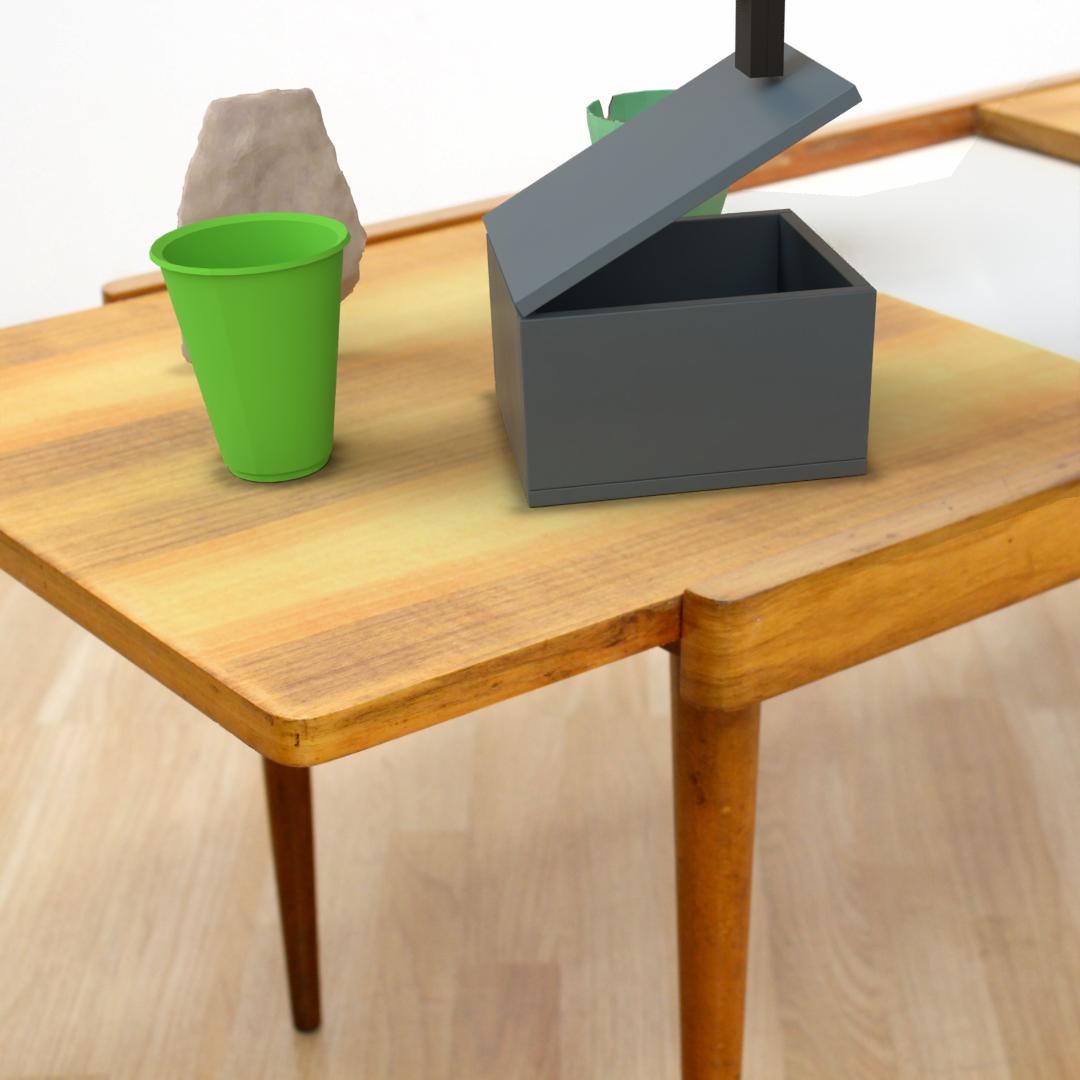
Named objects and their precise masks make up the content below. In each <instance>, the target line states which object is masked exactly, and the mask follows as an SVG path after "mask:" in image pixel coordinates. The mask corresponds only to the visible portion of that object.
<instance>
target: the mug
mask: <svg viewBox="0 0 1080 1080" xmlns="http://www.w3.org/2000/svg"><path fill="white" fill-rule="evenodd" d="M677 89H678V88H677ZM677 89H675V88H674V89H671V88H669V89H668V88H667V89H666V88H665V89H650V90H649V89H648V90H647V89H646V90H638V91H637V90H636V91H629V92H623V93H617V94H614V95H612V96H611V99H610V102H609V104H608V106H607V107H608V108H607V109H608V110H607V117H605V116H604V111H603V106H602V104H601V101H600V99H596V100H593V101H592V102H591V103H590V104H588V105H587V106H586V107H585V108H586V123H587V127H588V128H587V129H588V133H589V137H590V142H591V145H592V144H594V143H595V142H597V141H598V140H600V139H602V138H603V137H605V136H606V135H608V134H609V133H611V132H612V131H614V130H615V129H617V128H618V127H620V126H621V125H623V124H625V123H626V122H628V121H629V120H631V119H632V118H634V117H635V116H637V115H638V114H640V113H641V112H643V111H644V110H646V109H648V108H649V107H651V106H652V105H654V104H655V103H657V102H658V101H660V100H661V99H663V98H664V97H666V96H667V95H669V94H671V93H672V92H674V91H675V90H677ZM729 190H730V186H729V187H727V188H725V189H724V190H722V191H721V192H719V193H718V194H716V195H715V196H713V197H711V198H710V199H708V200H707V201H705V202H704V203H702V204H700V205H699V206H697V207H696V208H694V209H693V210H691V211H689V212H688V213H686V214H685V215H683V216H682V217H688V216H701V215H713V214H722V212H723V209H724V205H725V202H726V199H727V197H728V193H729Z"/></svg>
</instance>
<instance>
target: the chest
mask: <svg viewBox="0 0 1080 1080" xmlns="http://www.w3.org/2000/svg"><path fill="white" fill-rule="evenodd" d="M485 238H486V239H485V240H486V253H487V254H486V256H487V270H488V271H487V273H488V274H487V275H488V289H489V290H488V291H489V305H490V321H491V322H490V323H491V340H492V352H493V353H492V355H493V357H492V358H493V373H494V389H495V390H494V391H495V398H496V401H497V404H498V409H499V411H500V415H501V418H502V422H503V424H504V427H505V432H506V434H507V435H506V436H507V438H508V441H509V444H510V448H511V450H512V454H513V458H514V461H515V466H516V468H517V472H518V474H519V479H520V481H521V485H522V488H523V491H524V494H525V498H526V502H527V505H528V507H529V508H535V507H546V506H556V505H565V504H576V503H586V502H597V501H606V500H617V499H626V498H637V497H638V498H639V497H646V496H647V497H648V496H657V495H667V494H678V493H687V492H688V493H689V492H699V491H700V492H701V491H710V490H717V489H719V490H720V489H729V488H730V489H731V488H740V487H749V486H759V485H761V486H762V485H771V484H779V483H789V482H790V483H791V482H801V481H811V480H822V479H831V478H842V477H852V476H853V477H854V476H862V475H863V476H864V475H866V474H867V465H868V458H867V457H868V446H869V445H868V444H869V430H870V429H869V427H870V413H871V412H870V411H871V398H872V397H871V395H872V394H871V393H872V377H873V362H874V344H875V329H876V328H875V327H876V313H877V312H876V311H877V294H878V291H877V289H876V288H875V287H874V286H873V285H872V284H871V282H869V281H868V280H867V279H866V278H865V277H864V276H863V275H862V274H860V273H859V272H858V271H857V269H855V268H854V267H853V266H852V265H851V264H850V263H849V262H847V260H846V259H845V258H844V257H842V255H840V254H839V253H838V252H837V251H836V250H835V249H833V247H832V246H830V244H829V243H828V242H826V241H825V239H823V238H822V237H821V236H820V235H819V234H818V233H817V232H816V231H815V230H814V229H813V228H811V226H810V225H808V224H807V223H806V221H804V220H803V219H802V218H801V217H800V216H799V215H798V214H797V213H796V212H794V211H793V210H792V209H791V208H778V209H777V208H776V209H765V210H753V211H739V212H727V213H721V214H713V215H701V216H688V217H680V218H679V219H677V220H675V221H674V222H672V223H671V224H669V225H668V226H666V227H664V228H663V229H661V230H660V231H658V232H657V233H655V234H653V235H652V236H650V237H649V238H647V239H646V240H644V241H643V242H641V243H639V244H638V245H636V246H635V247H633V248H632V249H630V250H628V251H627V252H625V253H624V254H622V255H621V256H619V257H617V258H616V259H614V260H613V261H611V262H610V263H608V264H607V265H605V266H603V267H602V268H600V269H599V270H597V271H596V272H594V273H592V274H591V275H589V276H588V277H586V278H585V279H583V280H581V281H580V282H578V283H577V284H575V285H574V286H572V287H571V288H569V289H567V290H566V291H564V292H563V293H561V294H560V295H558V296H556V297H555V298H553V299H552V300H550V301H549V302H547V303H545V304H544V305H542V306H541V307H539V308H538V309H536V310H535V311H533V312H531V313H530V314H528V315H527V316H525V317H524V316H523V315H522V314H521V312H520V311H519V309H518V308H517V306H516V305H515V303H514V301H513V298H512V295H511V293H510V290H509V288H508V285H507V282H506V280H505V277H504V275H503V272H502V269H501V267H500V264H499V261H498V259H497V256H496V254H495V251H494V248H493V246H492V243H491V241H490V238H489V235H488V233H487V232H486V233H485Z"/></svg>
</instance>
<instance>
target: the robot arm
mask: <svg viewBox="0 0 1080 1080" xmlns="http://www.w3.org/2000/svg"><path fill="white" fill-rule="evenodd" d="M734 15H735V16H734V17H735V23H734V24H735V25H734V27H735V28H734V33H735V34H734V52H735V68H737V69H738V70H739V71H741V72H742V73H743V74H745V75H746V76H748V77H749V78H762V77H776V76H783V71H784V42H785V31H786V30H785V23H786V0H735V14H734Z"/></svg>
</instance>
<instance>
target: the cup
mask: <svg viewBox="0 0 1080 1080" xmlns="http://www.w3.org/2000/svg"><path fill="white" fill-rule="evenodd" d="M350 238H351V235H350V234H349V232H348V230H347V228H346V227H345V225H343V224H342V223H340V222H338V221H337V220H334V219H331V218H327V217H324V216H318V215H312V214H305V213H288V212H278V213H254V214H241V215H234V216H227V217H220V218H215V219H210V220H206V221H201V222H197V223H193V224H190V225H187V226H183V227H180V228H178V229H177V228H176V229H173V230H171V231H169V232H166V233H164V234H163V235H161V236H160V237H159V238H157V239H155V240H154V241H153V243H152V245H151V246H150V248H149V252H148V255H149V260H150V261H151V262H152V263H153V264H154V265H156V266H157V267H160V271H161V274H162V278H163V280H164V283H165V286H166V290H167V292H168V295H169V298H170V301H171V305H172V309H173V311H174V314H175V317H176V320H177V323H178V326H179V329H180V333H181V332H182V334H181V336H182V335H183V338H184V341H185V344H186V347H187V351H188V354H189V357H190V360H191V363H190V364H191V367H192V369H193V372H194V375H195V378H196V381H197V384H198V387H199V390H200V393H201V397H202V399H203V402H204V406H205V408H206V411H207V414H208V417H209V421H210V424H211V427H212V430H213V433H214V437H215V440H216V442H217V445H218V448H219V451H220V454H221V457H222V461H223V463H224V464H225V465H226V466H227V467H228V469H229V471H230V472H231V473H232V475H234V476H235V477H237V478H240V479H243V480H245V481H249V482H258V483H275V482H285V481H291V480H296V479H299V478H303V477H306V476H309V475H311V474H313V473H315V472H317V471H319V470H321V468H323V467H325V466H326V464H327V463H328V462H329V460H330V455H331V453H332V452H333V447H334V433H335V432H334V431H335V415H336V414H335V413H336V396H337V395H336V393H337V377H338V376H337V375H338V356H339V338H340V337H339V336H340V319H341V303H342V302H341V284H342V265H343V248H344V247H345V246H346V245H347V244H349V241H350Z"/></svg>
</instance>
